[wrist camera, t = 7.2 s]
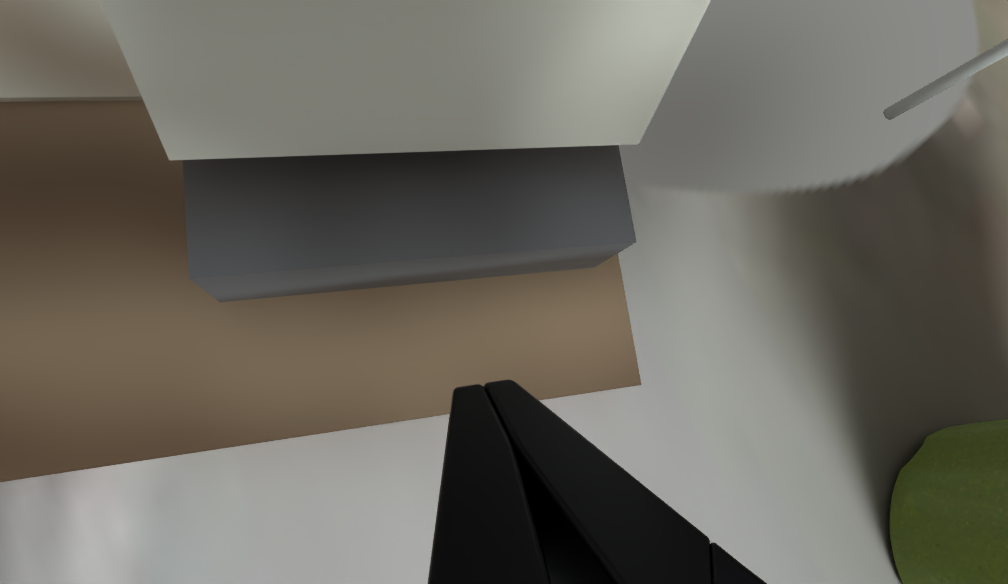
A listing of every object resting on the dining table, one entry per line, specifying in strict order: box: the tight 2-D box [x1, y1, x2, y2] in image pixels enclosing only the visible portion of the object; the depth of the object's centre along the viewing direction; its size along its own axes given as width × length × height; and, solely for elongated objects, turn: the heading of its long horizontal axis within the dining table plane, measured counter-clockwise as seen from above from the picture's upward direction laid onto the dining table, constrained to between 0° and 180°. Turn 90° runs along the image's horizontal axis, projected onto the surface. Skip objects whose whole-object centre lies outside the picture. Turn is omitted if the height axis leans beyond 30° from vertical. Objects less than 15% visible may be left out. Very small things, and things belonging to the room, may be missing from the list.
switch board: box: [0, 0, 641, 482], centre depth 13 cm, size 12×30×4 cm, turn 98°
